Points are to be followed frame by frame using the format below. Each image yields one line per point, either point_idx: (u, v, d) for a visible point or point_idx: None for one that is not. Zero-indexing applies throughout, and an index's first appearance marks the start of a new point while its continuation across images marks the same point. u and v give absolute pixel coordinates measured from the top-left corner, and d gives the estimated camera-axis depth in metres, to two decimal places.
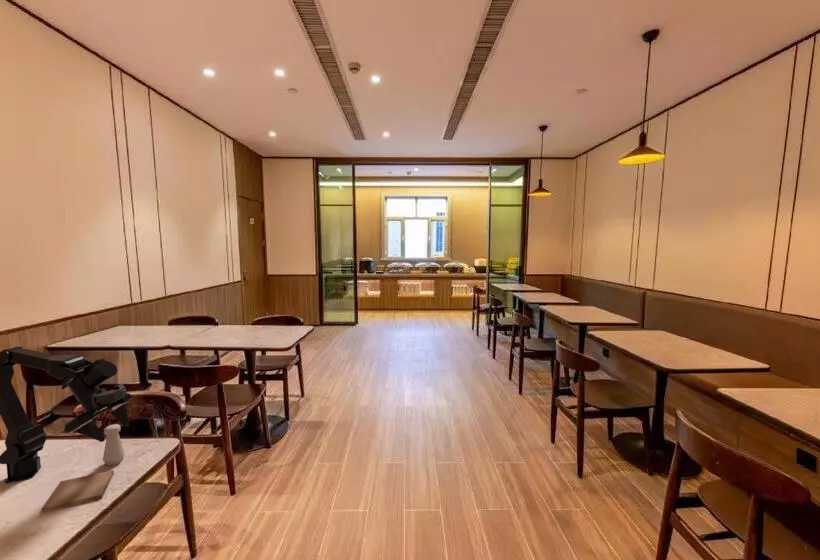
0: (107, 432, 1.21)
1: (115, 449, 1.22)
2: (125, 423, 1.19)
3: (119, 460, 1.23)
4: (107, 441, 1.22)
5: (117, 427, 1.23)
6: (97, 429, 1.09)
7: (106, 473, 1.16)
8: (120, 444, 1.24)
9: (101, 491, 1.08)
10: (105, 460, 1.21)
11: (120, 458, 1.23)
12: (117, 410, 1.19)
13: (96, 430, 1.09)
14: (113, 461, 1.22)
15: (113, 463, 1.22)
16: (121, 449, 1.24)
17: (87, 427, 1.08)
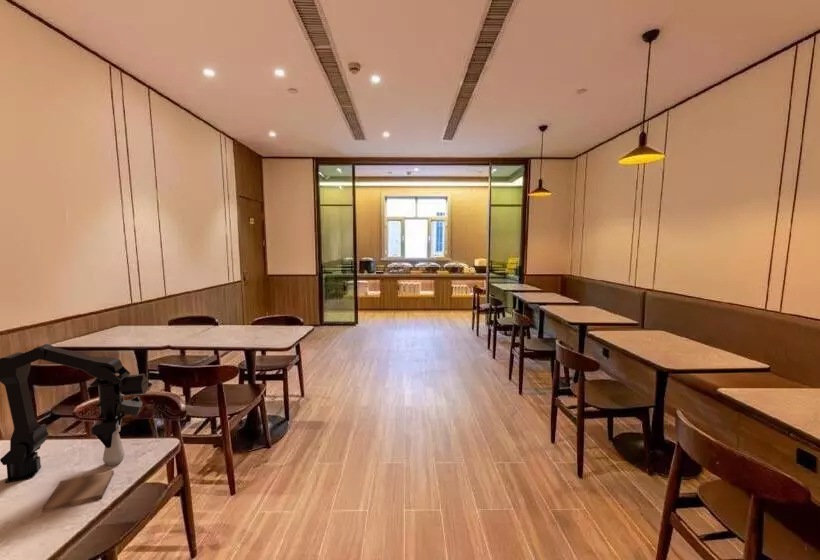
0: None
1: (115, 449, 1.22)
2: None
3: (119, 460, 1.23)
4: None
5: None
6: (112, 436, 1.19)
7: (106, 473, 1.16)
8: (120, 444, 1.24)
9: (101, 491, 1.08)
10: (105, 460, 1.21)
11: (120, 458, 1.23)
12: None
13: (112, 437, 1.18)
14: (113, 461, 1.22)
15: (113, 463, 1.22)
16: (121, 449, 1.24)
17: None
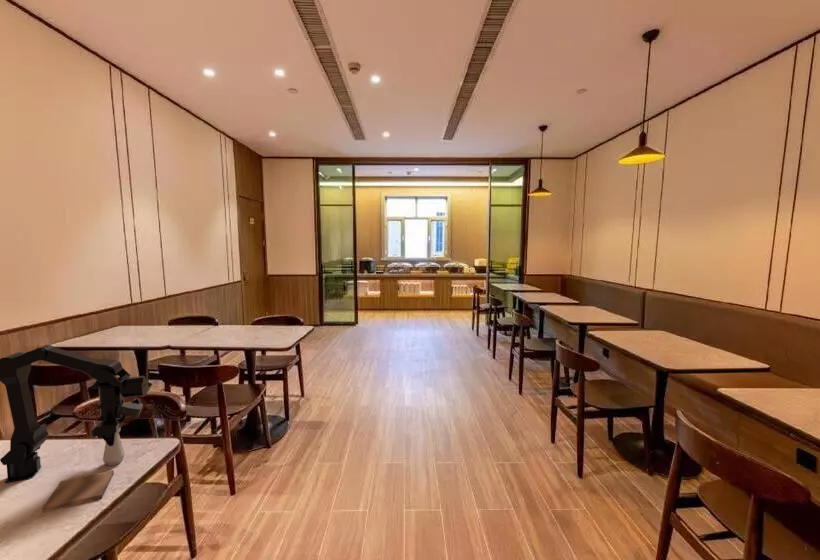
0: None
1: (115, 449, 1.22)
2: None
3: (119, 460, 1.23)
4: None
5: None
6: None
7: (106, 473, 1.16)
8: (120, 444, 1.24)
9: (101, 491, 1.08)
10: (105, 460, 1.21)
11: (120, 458, 1.23)
12: None
13: (114, 435, 1.21)
14: (113, 461, 1.22)
15: (113, 463, 1.22)
16: (121, 449, 1.24)
17: None
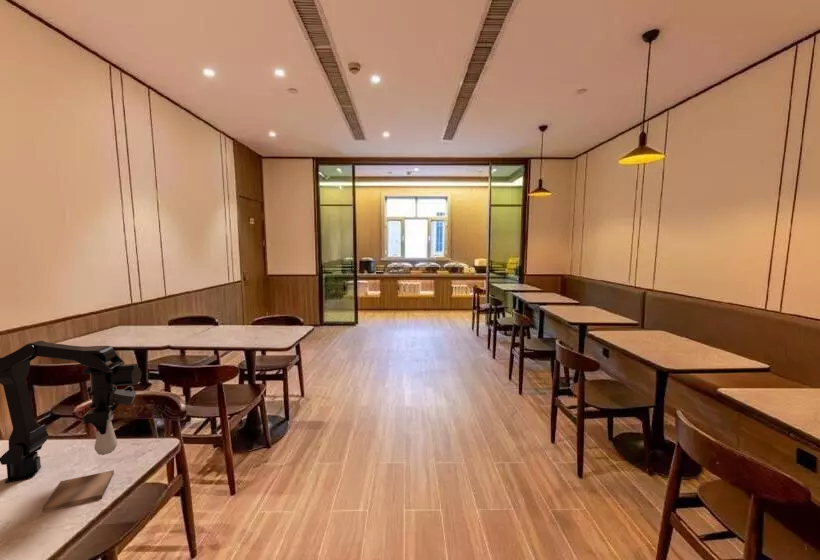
0: None
1: (107, 437, 1.18)
2: None
3: (111, 449, 1.19)
4: None
5: None
6: (107, 422, 1.18)
7: (106, 473, 1.16)
8: (113, 432, 1.20)
9: (101, 491, 1.08)
10: (97, 449, 1.17)
11: (113, 447, 1.20)
12: None
13: (106, 423, 1.17)
14: (105, 450, 1.18)
15: (105, 452, 1.18)
16: (114, 438, 1.20)
17: None
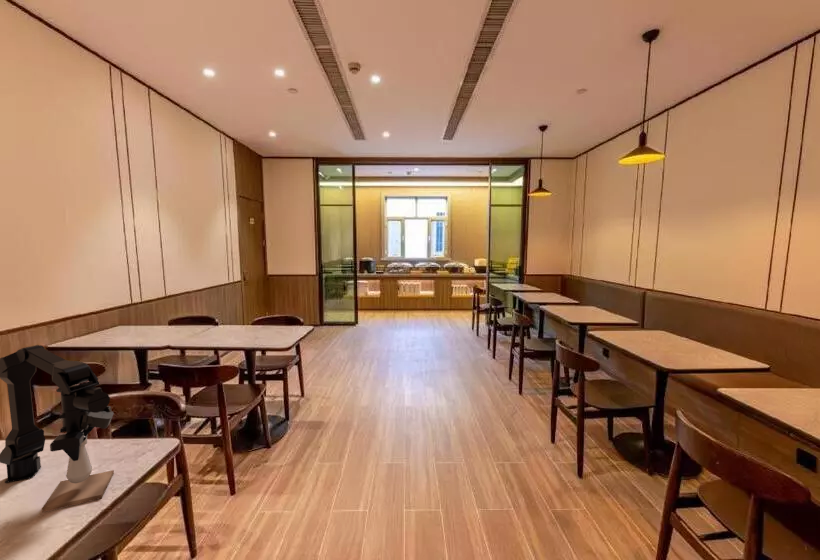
0: None
1: (80, 464, 1.07)
2: None
3: (85, 476, 1.08)
4: None
5: None
6: (79, 447, 1.06)
7: (106, 473, 1.16)
8: (87, 458, 1.09)
9: (101, 491, 1.08)
10: (69, 477, 1.06)
11: (86, 474, 1.08)
12: None
13: (79, 448, 1.06)
14: (78, 478, 1.07)
15: (78, 480, 1.07)
16: (88, 464, 1.09)
17: None
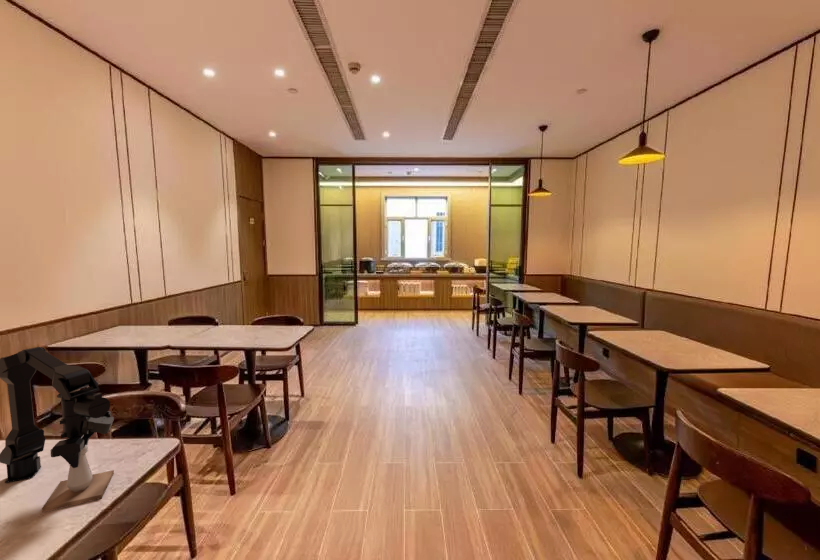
0: None
1: (80, 472, 1.07)
2: None
3: (86, 485, 1.08)
4: None
5: None
6: (79, 454, 1.06)
7: (106, 473, 1.16)
8: (87, 467, 1.09)
9: (101, 491, 1.08)
10: (69, 485, 1.06)
11: (87, 483, 1.08)
12: None
13: (78, 455, 1.05)
14: (79, 486, 1.07)
15: (78, 489, 1.07)
16: (88, 472, 1.09)
17: None
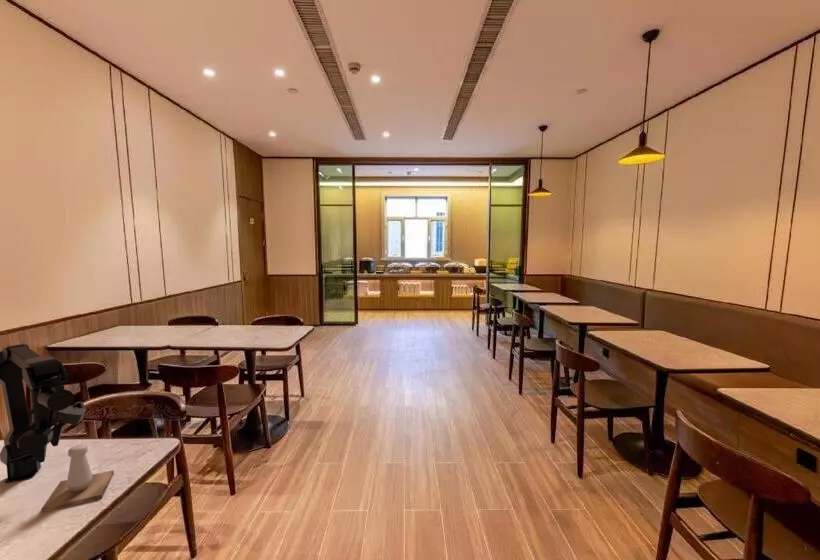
0: (71, 453, 1.06)
1: (80, 472, 1.07)
2: (55, 442, 1.10)
3: (86, 485, 1.08)
4: (71, 464, 1.07)
5: (83, 447, 1.08)
6: (45, 449, 1.02)
7: (106, 473, 1.16)
8: (87, 467, 1.09)
9: (101, 491, 1.08)
10: (69, 485, 1.06)
11: (87, 483, 1.08)
12: (53, 425, 1.10)
13: (45, 450, 1.02)
14: (79, 486, 1.07)
15: (78, 489, 1.07)
16: (88, 472, 1.09)
17: None
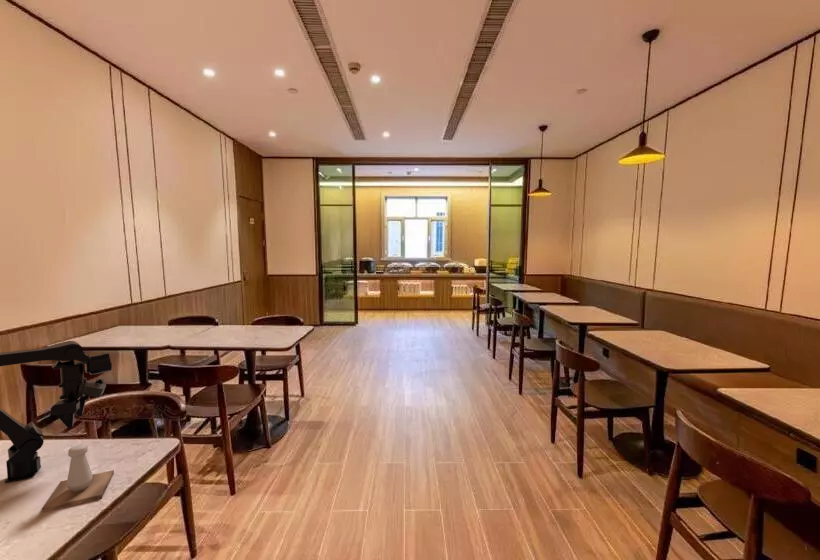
0: (71, 453, 1.06)
1: (80, 472, 1.07)
2: (80, 413, 1.29)
3: (86, 485, 1.08)
4: (71, 464, 1.07)
5: (83, 447, 1.08)
6: (73, 416, 1.21)
7: (106, 473, 1.16)
8: (87, 467, 1.09)
9: (101, 491, 1.08)
10: (69, 485, 1.06)
11: (87, 483, 1.08)
12: (78, 399, 1.29)
13: (73, 417, 1.21)
14: (79, 486, 1.07)
15: (78, 489, 1.07)
16: (88, 472, 1.09)
17: None
